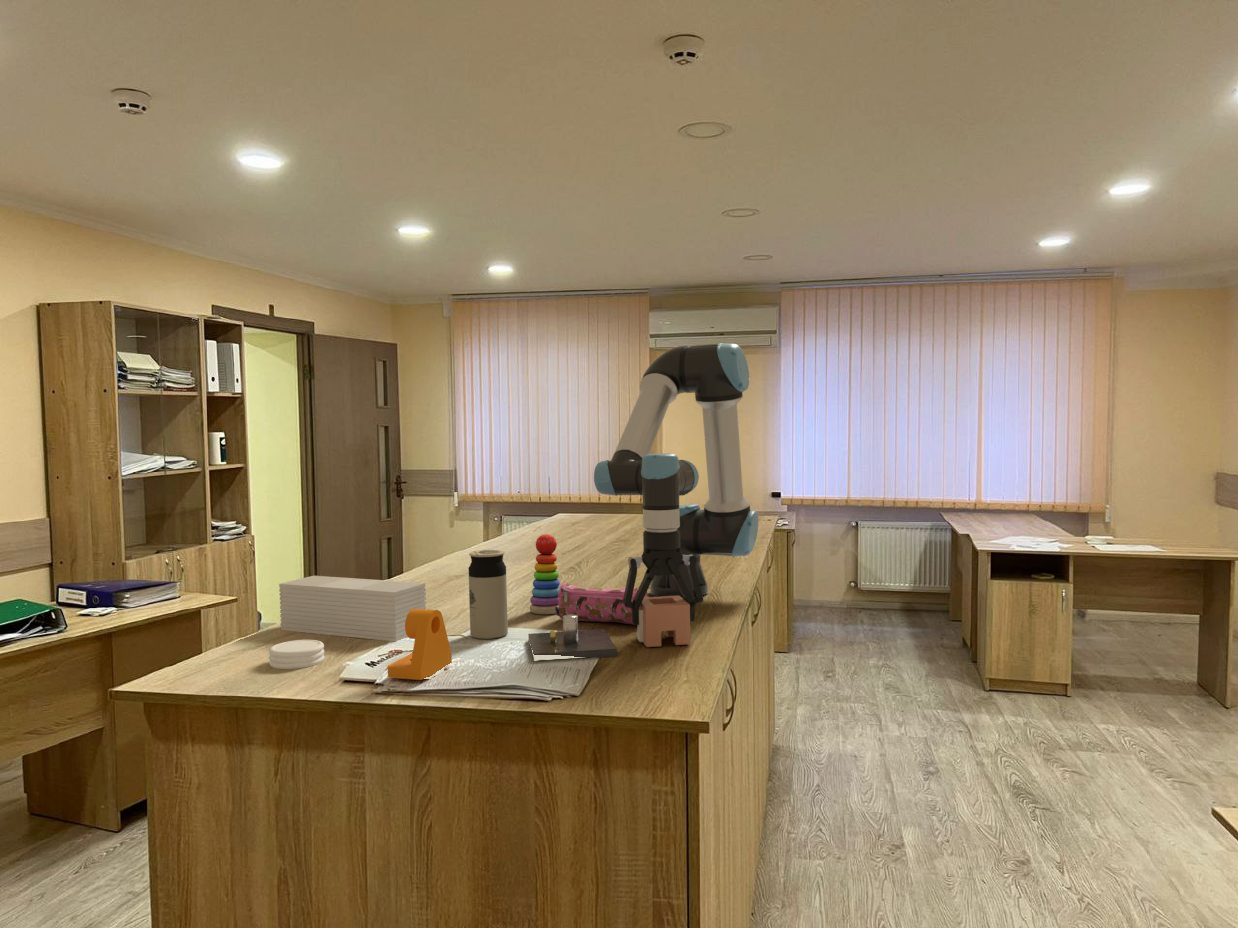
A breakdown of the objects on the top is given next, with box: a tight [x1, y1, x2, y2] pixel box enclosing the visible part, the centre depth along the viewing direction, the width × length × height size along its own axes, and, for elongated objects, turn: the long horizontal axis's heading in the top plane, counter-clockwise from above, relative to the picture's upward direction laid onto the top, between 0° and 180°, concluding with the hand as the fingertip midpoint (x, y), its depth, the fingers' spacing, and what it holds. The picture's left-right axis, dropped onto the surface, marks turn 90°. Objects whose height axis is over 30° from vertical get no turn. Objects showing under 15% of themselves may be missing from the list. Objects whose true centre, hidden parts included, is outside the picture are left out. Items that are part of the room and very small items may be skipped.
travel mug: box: [468, 549, 509, 640], centre depth 182 cm, size 8×8×18 cm
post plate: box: [528, 615, 618, 658], centre depth 170 cm, size 16×16×6 cm
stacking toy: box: [529, 533, 561, 615], centre depth 204 cm, size 8×8×19 cm
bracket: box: [387, 608, 453, 681], centre depth 154 cm, size 11×7×12 cm, turn 162°
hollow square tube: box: [640, 595, 691, 648], centre depth 173 cm, size 9×9×8 cm
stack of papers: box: [278, 575, 427, 642], centre depth 189 cm, size 32×11×11 cm, turn 67°
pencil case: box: [555, 582, 650, 626], centre depth 191 cm, size 21×9×9 cm, turn 67°
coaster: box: [268, 639, 326, 670], centre depth 164 cm, size 10×10×4 cm
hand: (663, 638), depth 173 cm, fingers closed on hollow square tube, 9 cm apart
